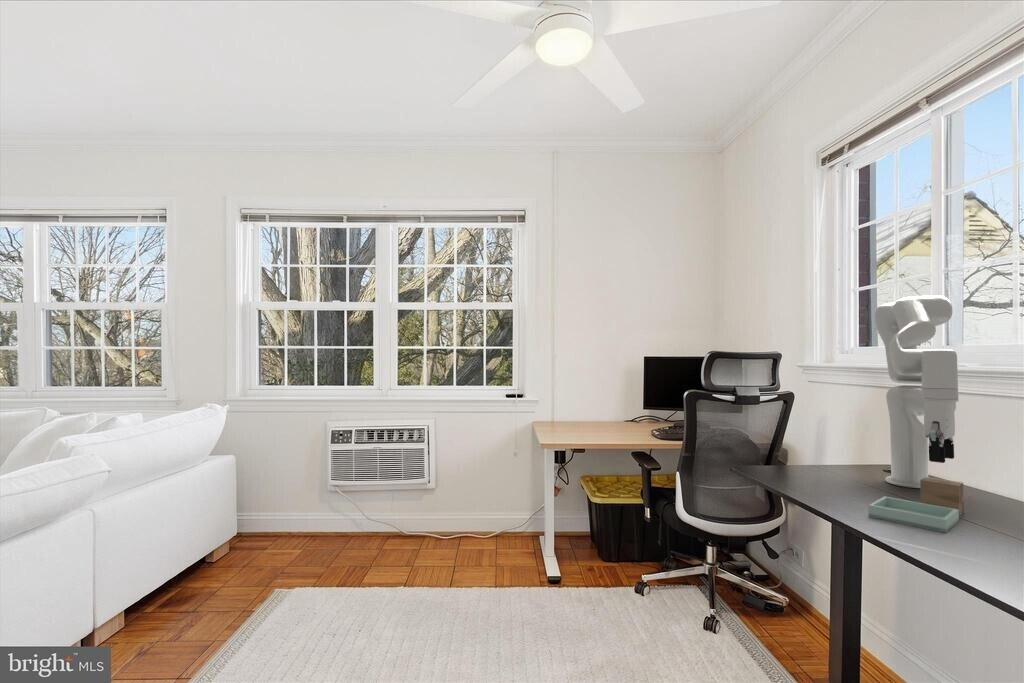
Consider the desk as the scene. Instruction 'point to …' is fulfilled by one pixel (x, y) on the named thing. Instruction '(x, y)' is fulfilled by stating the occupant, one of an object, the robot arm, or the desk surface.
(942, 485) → the walnut block
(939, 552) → the desk surface
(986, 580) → the desk surface
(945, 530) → the tray
